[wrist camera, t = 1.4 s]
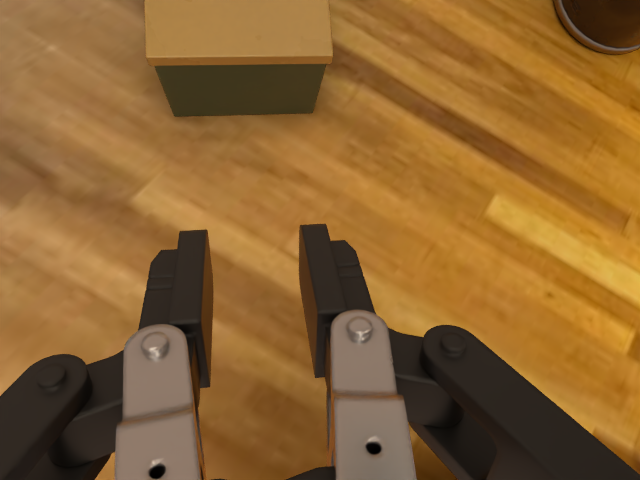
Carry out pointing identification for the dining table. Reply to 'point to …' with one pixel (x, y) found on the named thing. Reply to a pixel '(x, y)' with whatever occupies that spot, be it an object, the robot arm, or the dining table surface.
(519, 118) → the dining table surface
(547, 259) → the dining table surface
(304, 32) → the tea tin
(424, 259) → the dining table surface
